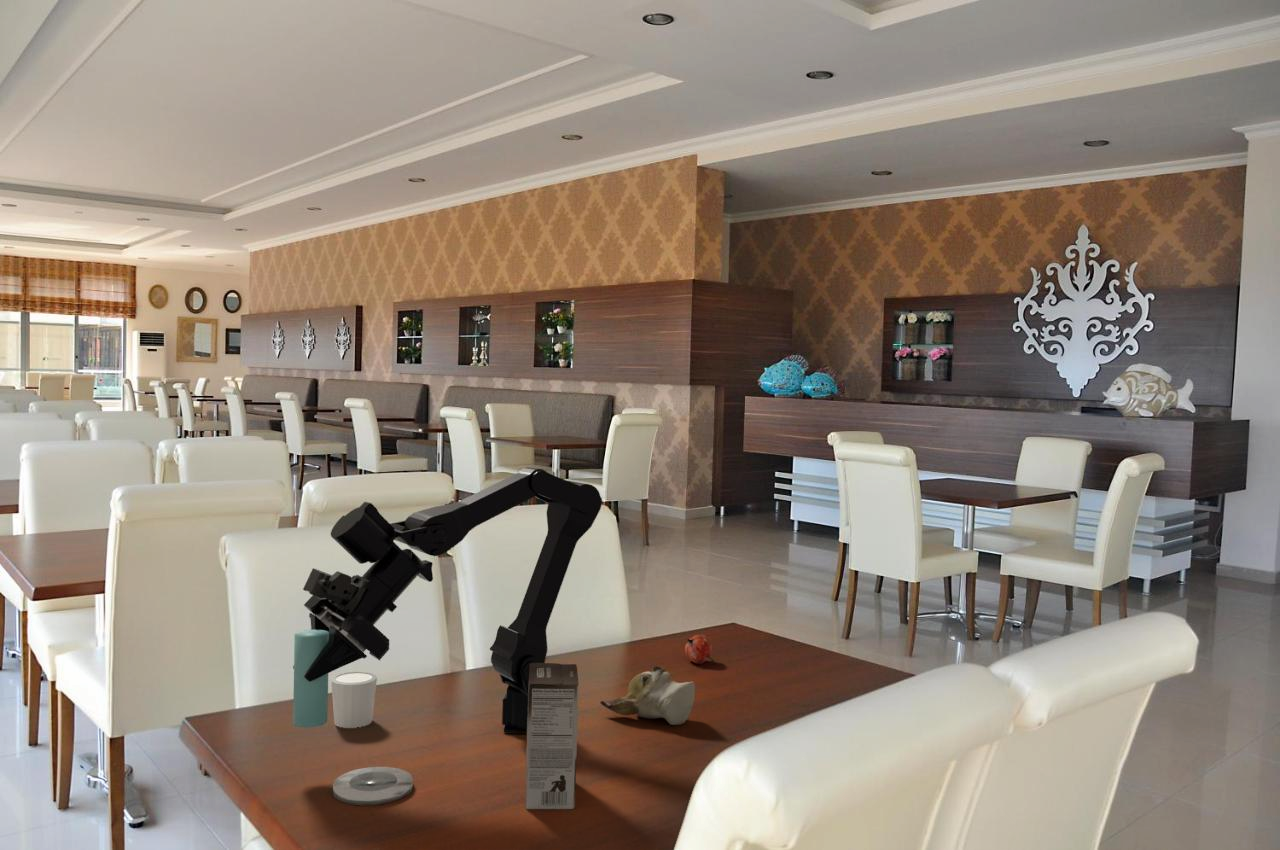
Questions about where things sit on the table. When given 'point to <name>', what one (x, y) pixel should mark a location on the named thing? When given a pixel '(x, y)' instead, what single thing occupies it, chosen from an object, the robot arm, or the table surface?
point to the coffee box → (551, 736)
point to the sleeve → (308, 695)
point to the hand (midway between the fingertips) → (300, 674)
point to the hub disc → (372, 785)
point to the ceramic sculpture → (655, 697)
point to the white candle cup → (353, 698)
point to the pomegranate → (698, 649)
